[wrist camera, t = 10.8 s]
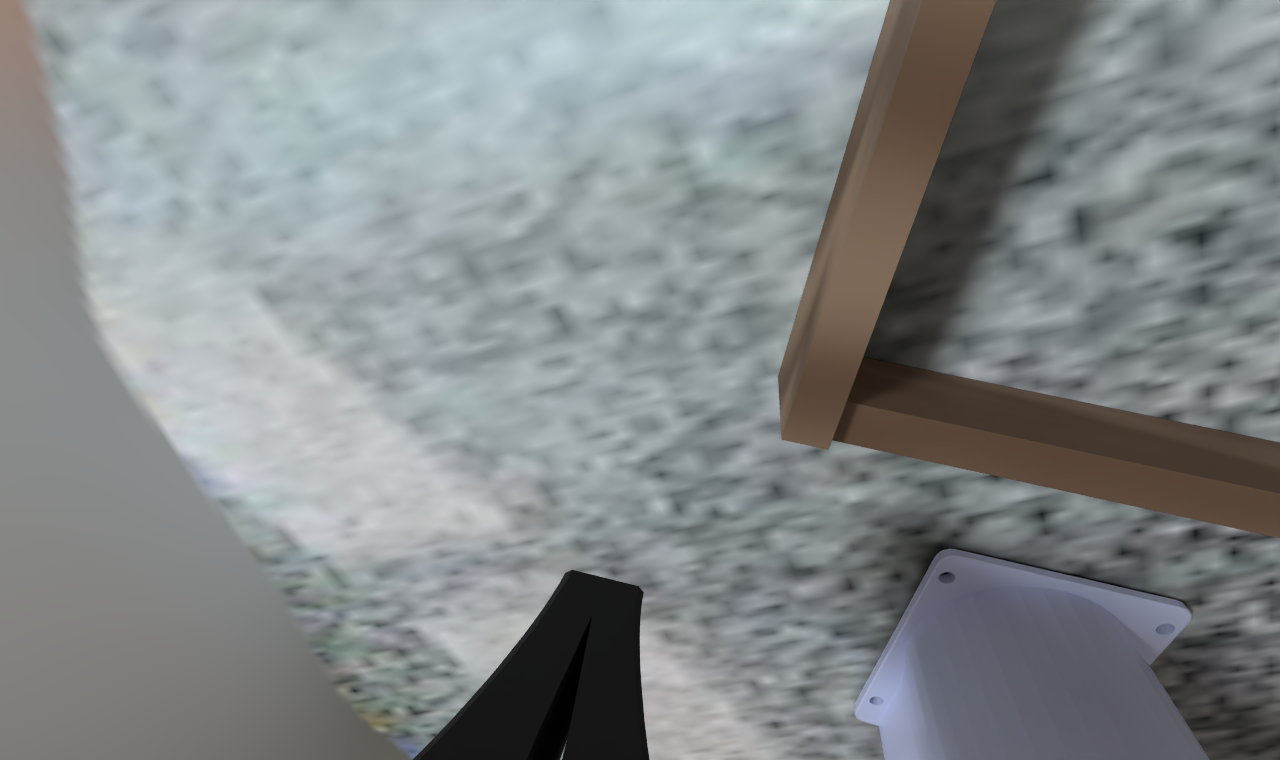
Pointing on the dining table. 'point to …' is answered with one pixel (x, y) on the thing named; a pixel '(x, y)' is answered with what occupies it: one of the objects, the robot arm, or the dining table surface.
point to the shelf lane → (955, 406)
